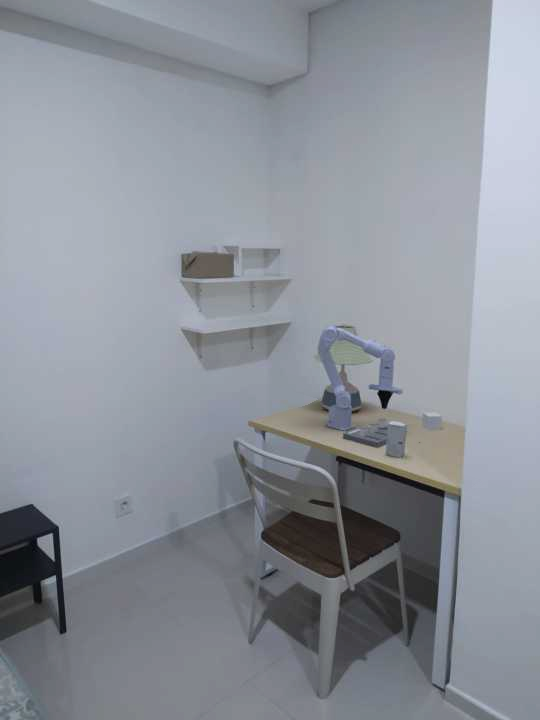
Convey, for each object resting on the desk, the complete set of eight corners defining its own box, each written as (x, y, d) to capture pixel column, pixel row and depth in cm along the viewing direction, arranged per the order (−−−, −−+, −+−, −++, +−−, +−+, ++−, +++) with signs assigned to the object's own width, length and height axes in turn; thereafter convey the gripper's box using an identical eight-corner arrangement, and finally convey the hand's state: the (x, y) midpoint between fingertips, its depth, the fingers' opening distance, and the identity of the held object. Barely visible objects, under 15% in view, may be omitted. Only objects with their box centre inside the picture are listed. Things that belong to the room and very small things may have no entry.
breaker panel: (343, 438, 222) (343, 425, 221) (373, 427, 238) (373, 415, 237) (377, 447, 212) (378, 434, 211) (406, 435, 227) (407, 422, 226)
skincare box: (385, 455, 204) (387, 423, 202) (389, 451, 207) (390, 420, 205) (401, 458, 201) (403, 426, 199) (405, 454, 204) (407, 423, 202)
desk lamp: (301, 408, 266) (303, 322, 259) (340, 399, 285) (343, 319, 278) (342, 420, 248) (346, 328, 240) (380, 410, 266) (385, 324, 259)
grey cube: (427, 430, 236) (428, 416, 235) (422, 426, 242) (422, 412, 241) (441, 429, 237) (441, 416, 236) (435, 425, 242) (436, 412, 241)
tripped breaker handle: (378, 427, 230) (378, 419, 229) (382, 425, 232) (382, 418, 231) (382, 428, 228) (382, 420, 228) (386, 426, 231) (386, 419, 230)
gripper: (365, 375, 232) (364, 407, 234) (398, 380, 223) (396, 413, 226) (373, 373, 238) (372, 404, 240) (405, 378, 229) (403, 409, 231)
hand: (384, 408), depth 233 cm, fingers closed
